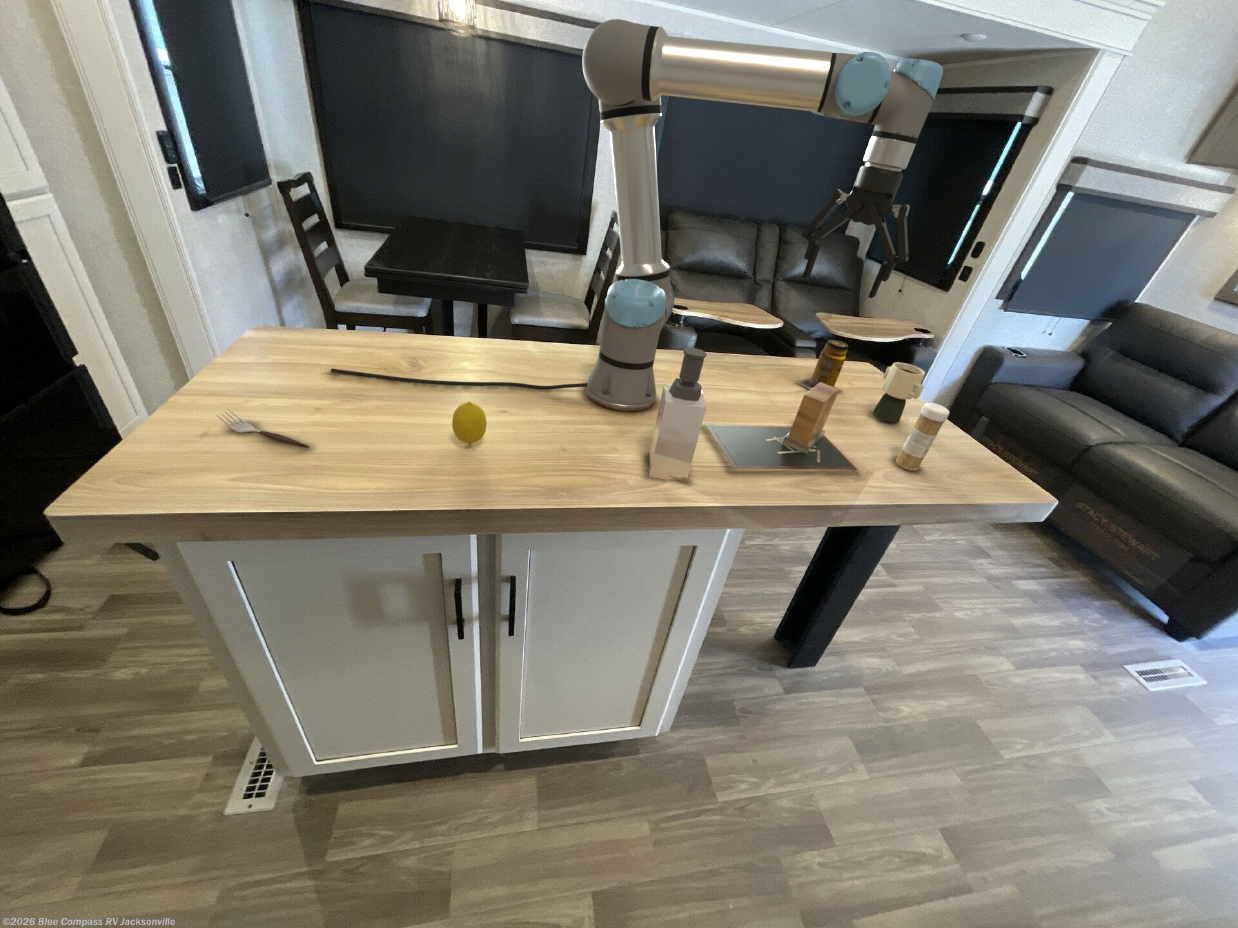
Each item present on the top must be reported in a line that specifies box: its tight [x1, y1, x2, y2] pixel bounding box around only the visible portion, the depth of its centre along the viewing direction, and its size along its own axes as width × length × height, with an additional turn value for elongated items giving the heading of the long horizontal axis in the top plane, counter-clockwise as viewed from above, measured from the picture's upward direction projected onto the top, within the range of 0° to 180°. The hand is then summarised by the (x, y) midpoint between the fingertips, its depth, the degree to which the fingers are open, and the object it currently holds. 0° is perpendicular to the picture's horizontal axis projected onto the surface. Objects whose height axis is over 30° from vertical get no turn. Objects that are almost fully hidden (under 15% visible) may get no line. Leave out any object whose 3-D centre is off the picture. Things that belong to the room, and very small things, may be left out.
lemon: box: [451, 401, 488, 445], centre depth 89 cm, size 6×6×8 cm
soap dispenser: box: [648, 346, 708, 482], centre depth 89 cm, size 6×9×22 cm
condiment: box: [797, 339, 850, 392], centre depth 134 cm, size 7×8×12 cm
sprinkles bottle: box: [895, 402, 950, 472], centre depth 104 cm, size 5×5×13 cm
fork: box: [216, 409, 310, 449], centre depth 84 cm, size 3×16×2 cm, turn 73°
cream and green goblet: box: [872, 361, 926, 423], centre depth 123 cm, size 11×7×13 cm, turn 18°
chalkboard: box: [704, 423, 858, 471], centre depth 105 cm, size 26×16×1 cm, turn 101°
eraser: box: [783, 382, 840, 454], centre depth 105 cm, size 10×5×11 cm, turn 143°
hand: (837, 287), depth 107 cm, fingers open, 13 cm apart
